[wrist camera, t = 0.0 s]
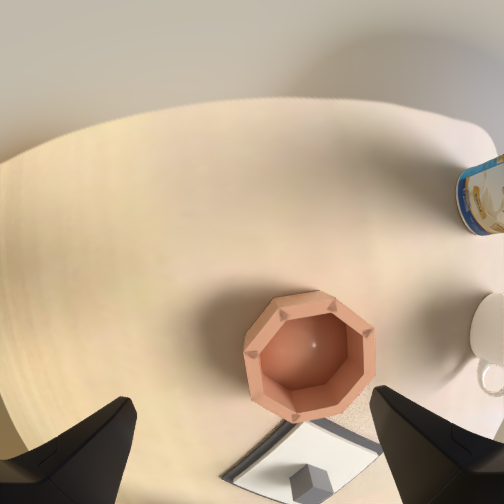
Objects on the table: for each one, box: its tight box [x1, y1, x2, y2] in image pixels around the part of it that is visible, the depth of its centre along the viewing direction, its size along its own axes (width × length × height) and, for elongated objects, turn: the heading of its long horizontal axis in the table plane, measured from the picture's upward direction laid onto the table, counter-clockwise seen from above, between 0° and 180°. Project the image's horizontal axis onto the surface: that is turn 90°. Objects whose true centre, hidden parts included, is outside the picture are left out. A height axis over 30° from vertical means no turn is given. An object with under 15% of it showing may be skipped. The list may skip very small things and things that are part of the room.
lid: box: [233, 421, 378, 504], centre depth 20 cm, size 12×12×5 cm
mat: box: [222, 418, 383, 504], centre depth 23 cm, size 14×14×1 cm
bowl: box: [243, 290, 375, 424], centre depth 21 cm, size 10×10×5 cm
